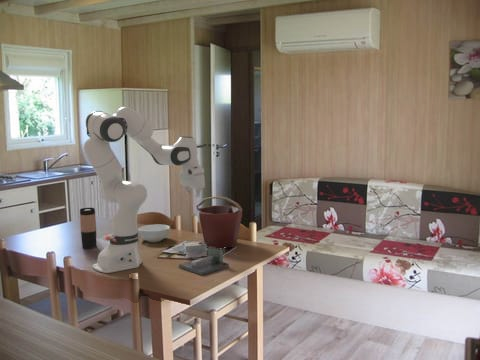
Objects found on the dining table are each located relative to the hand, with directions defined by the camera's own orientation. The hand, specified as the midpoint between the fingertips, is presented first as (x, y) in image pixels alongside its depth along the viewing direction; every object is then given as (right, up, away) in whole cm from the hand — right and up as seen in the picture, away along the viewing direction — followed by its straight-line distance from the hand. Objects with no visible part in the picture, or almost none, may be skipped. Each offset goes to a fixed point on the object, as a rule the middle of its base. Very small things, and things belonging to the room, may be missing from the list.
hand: (193, 195), depth 269 cm
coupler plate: (+7, -32, -25) cm, 41 cm away
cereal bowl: (-23, -25, +22) cm, 40 cm away
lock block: (+2, -29, -7) cm, 30 cm away
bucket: (+13, -26, +13) cm, 32 cm away
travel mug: (-55, -27, +11) cm, 62 cm away
